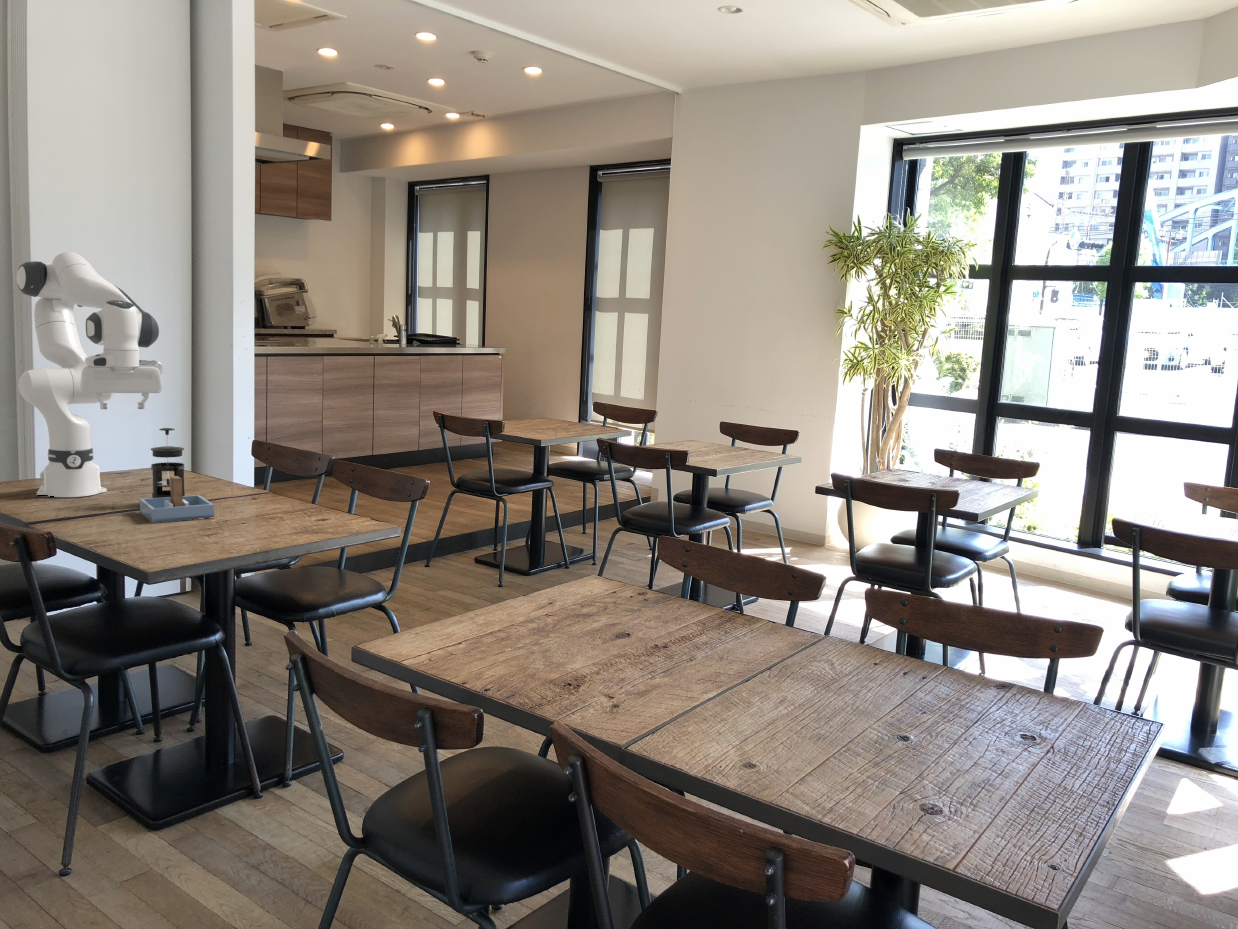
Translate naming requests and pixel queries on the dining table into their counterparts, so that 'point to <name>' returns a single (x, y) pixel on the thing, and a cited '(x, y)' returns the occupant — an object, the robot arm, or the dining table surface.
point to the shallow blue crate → (176, 509)
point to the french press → (166, 468)
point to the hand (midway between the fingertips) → (122, 409)
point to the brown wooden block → (176, 491)
